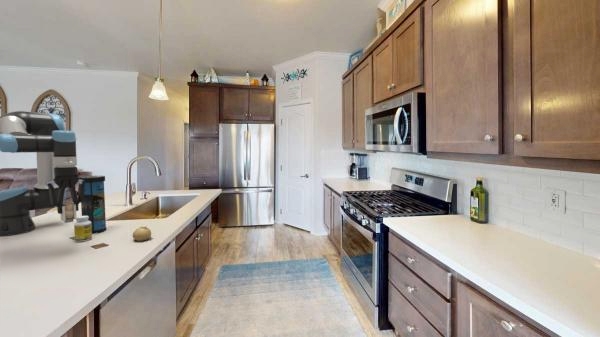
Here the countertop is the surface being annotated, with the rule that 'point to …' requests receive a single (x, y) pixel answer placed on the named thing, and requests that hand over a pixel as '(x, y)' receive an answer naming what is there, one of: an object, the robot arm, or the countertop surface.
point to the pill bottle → (82, 229)
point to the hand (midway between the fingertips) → (68, 219)
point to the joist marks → (94, 245)
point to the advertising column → (94, 202)
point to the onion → (141, 234)
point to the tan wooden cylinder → (69, 212)
